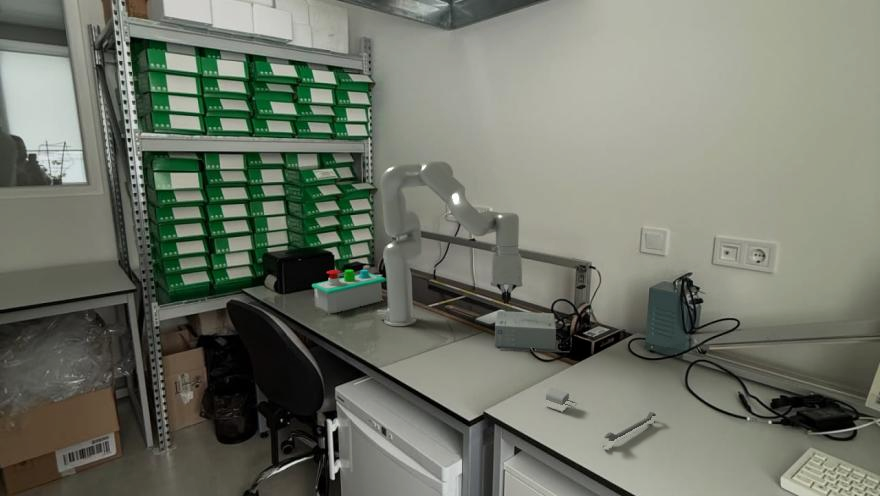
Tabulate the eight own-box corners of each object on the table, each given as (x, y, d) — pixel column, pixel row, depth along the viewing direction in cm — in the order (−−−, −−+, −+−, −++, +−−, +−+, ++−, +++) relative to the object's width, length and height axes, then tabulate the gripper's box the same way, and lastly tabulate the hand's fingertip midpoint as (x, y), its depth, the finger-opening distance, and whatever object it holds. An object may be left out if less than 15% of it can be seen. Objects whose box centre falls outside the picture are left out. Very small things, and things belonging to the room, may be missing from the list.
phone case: (490, 328, 173) (518, 317, 183) (490, 324, 173) (518, 314, 183) (473, 322, 180) (501, 312, 190) (473, 318, 179) (501, 308, 190)
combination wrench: (652, 407, 111) (599, 434, 100) (657, 410, 110) (604, 437, 99) (651, 422, 112) (598, 450, 100) (656, 424, 110) (603, 453, 99)
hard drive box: (494, 347, 154) (556, 350, 150) (494, 325, 153) (556, 328, 149) (497, 330, 169) (554, 333, 165) (497, 310, 168) (554, 312, 164)
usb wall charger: (552, 401, 120) (553, 387, 120) (578, 410, 116) (579, 395, 115) (545, 407, 117) (546, 393, 117) (571, 417, 113) (572, 402, 112)
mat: (500, 350, 152) (500, 349, 152) (499, 328, 172) (499, 327, 172) (569, 352, 150) (569, 351, 150) (560, 329, 169) (560, 328, 169)
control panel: (387, 264, 203) (326, 277, 184) (389, 301, 206) (328, 317, 187) (368, 259, 214) (308, 270, 195) (370, 294, 218) (311, 308, 198)
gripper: (484, 252, 153) (484, 305, 156) (530, 252, 151) (529, 306, 155) (484, 247, 160) (484, 299, 164) (528, 248, 159) (527, 299, 162)
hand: (506, 302), depth 159 cm, fingers closed
